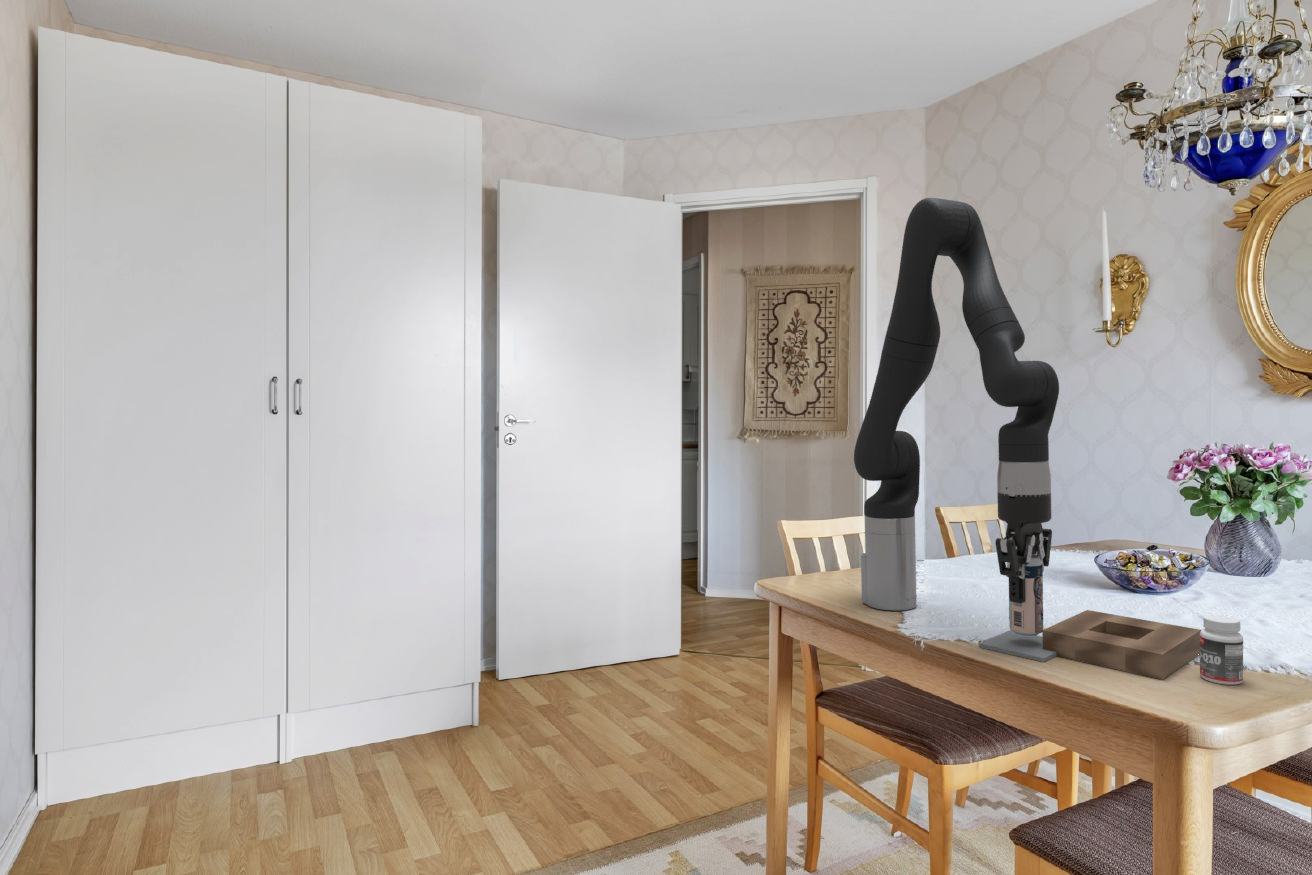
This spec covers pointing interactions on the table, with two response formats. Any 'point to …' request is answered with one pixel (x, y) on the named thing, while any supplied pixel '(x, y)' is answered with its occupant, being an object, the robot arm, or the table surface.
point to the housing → (1123, 643)
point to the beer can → (1029, 602)
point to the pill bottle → (1221, 650)
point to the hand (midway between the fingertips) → (1025, 598)
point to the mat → (1019, 646)
